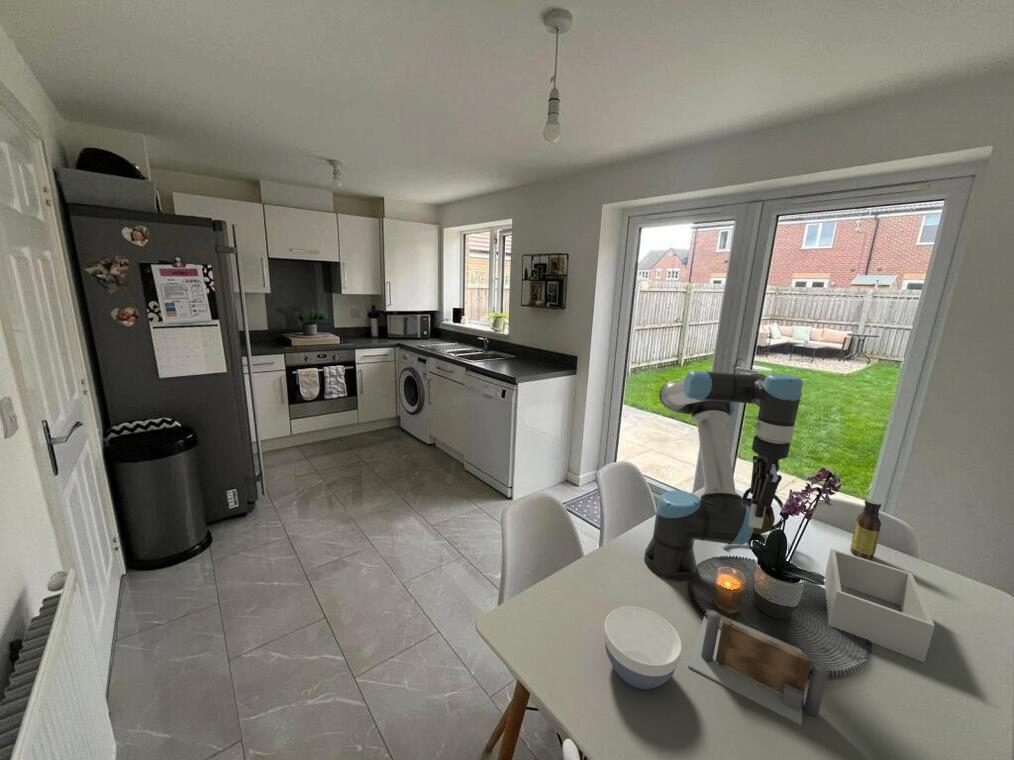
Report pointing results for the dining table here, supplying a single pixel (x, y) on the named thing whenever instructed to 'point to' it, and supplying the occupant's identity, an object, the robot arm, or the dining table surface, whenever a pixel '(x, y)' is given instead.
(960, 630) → the dining table surface
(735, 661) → the gate
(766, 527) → the teapot
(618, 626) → the bowl
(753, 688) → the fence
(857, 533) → the sauce bottle
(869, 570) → the box
